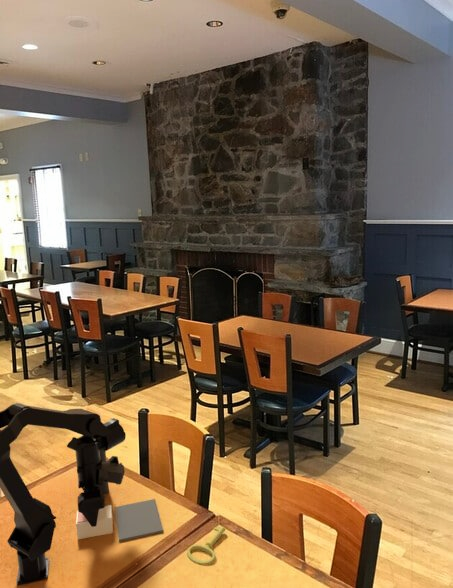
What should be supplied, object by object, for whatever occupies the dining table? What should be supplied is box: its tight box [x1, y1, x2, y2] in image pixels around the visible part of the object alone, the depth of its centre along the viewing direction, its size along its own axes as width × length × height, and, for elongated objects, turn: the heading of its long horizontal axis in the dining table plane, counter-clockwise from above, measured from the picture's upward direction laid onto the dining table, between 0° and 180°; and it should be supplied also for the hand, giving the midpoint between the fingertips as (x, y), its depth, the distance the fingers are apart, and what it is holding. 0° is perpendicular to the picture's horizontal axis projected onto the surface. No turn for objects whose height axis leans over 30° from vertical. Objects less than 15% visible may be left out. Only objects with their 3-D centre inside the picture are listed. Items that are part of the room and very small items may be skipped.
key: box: [186, 525, 226, 566], centre depth 118 cm, size 7×12×2 cm, turn 165°
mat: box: [114, 498, 164, 543], centre depth 128 cm, size 14×11×1 cm
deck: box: [75, 504, 114, 540], centre depth 125 cm, size 6×9×5 cm, turn 104°
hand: (93, 515), depth 125 cm, fingers open, 9 cm apart
